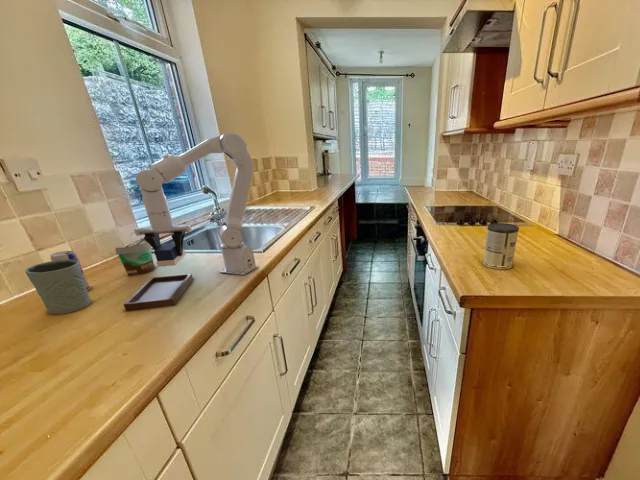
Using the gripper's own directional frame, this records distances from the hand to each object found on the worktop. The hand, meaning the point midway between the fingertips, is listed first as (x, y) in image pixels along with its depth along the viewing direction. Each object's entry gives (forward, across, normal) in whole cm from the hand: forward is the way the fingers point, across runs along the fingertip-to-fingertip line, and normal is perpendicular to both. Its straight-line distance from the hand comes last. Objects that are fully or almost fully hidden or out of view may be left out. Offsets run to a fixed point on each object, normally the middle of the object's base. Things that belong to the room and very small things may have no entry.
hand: (171, 256), depth 100 cm
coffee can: (+8, -108, +15) cm, 109 cm away
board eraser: (+1, 0, 0) cm, 1 cm away
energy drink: (+9, +27, +1) cm, 28 cm away
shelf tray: (+8, +2, +10) cm, 13 cm away
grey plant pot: (+9, +23, +12) cm, 27 cm away
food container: (+9, +14, -14) cm, 21 cm away
